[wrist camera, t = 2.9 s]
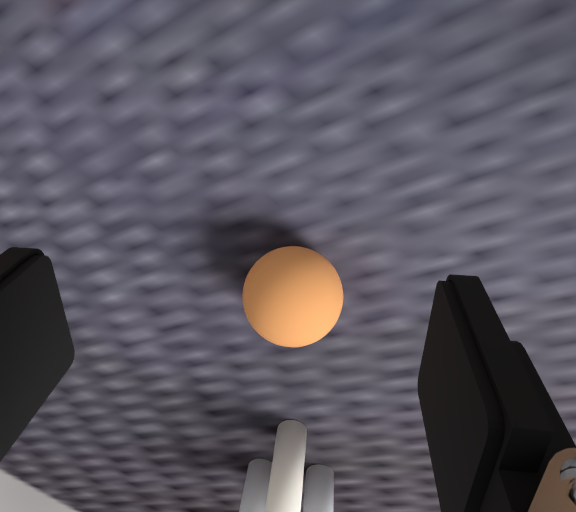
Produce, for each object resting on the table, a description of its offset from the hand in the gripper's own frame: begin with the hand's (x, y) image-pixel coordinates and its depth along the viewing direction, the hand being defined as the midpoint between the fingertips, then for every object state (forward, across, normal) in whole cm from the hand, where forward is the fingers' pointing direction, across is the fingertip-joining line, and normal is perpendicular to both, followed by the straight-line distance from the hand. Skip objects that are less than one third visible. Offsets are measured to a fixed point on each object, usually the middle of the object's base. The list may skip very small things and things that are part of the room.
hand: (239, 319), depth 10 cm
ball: (+15, 0, +9) cm, 18 cm away
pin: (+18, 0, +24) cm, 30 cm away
